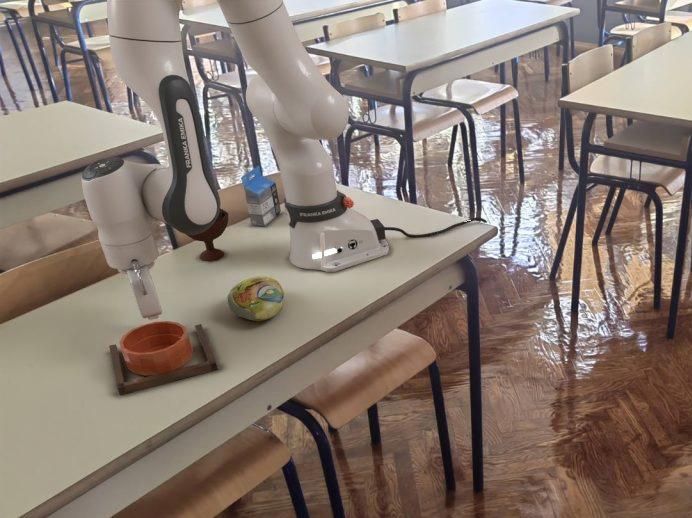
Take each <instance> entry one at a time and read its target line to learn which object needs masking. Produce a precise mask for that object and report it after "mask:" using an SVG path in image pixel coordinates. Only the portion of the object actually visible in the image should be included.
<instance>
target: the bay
mask: <svg viewBox="0 0 692 518" xmlns="http://www.w3.org/2000/svg"><path fill="white" fill-rule="evenodd" d="M194 327H195V331H196V334H197V337H198V340H199V342H200V345H201V348H202V350H203V352H204V355H205V358H206V361H203V362H199V363H195V364H191V365H187V366H183V367H181V368H179V369H175V370H171V371H168V372H164V373H160V374H156V375H152V376H143V377H140V378H137V379H133V380H129V381H125V376H124V371H123V370H124V369H123V365H122V361H121V356H120V352H119V348H118V346H117V344H112V345H109V346H108V347H109V353H110V358H111V363H112V369H113V374H114V378H115V379H114V380H115V383H116V384H115V385H116V389H117V392H118V394H119V396H123V395H126V394H130V393H134V392H138V391H141V390H145V389H150V388H153V387H157V386H161V385H165V384H169V383H172V382H176V381H180V380H184V379H187V378H191V377H195V376H198V375H203V374H206V373H207V374H208V373H211V372H214V371H218V370H219V367H218V366H219V365H218V363H217V360H216V358H215V355H214V352H213V350H212V347H211V345H210V343H209V340H208V338H207V335H206V332H205V329H204V327H203V325H202V323H200V324H195V325H194Z"/></svg>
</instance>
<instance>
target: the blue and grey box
mask: <svg viewBox="0 0 692 518" xmlns="http://www.w3.org/2000/svg"><path fill="white" fill-rule="evenodd" d="M251 176H253V177H252V178H251ZM240 179H241V183H242V185H243V189H244V196H245V201H246V205H247V209H248V210H247V211H248V214H249V220H250V225H251V226H255V227H266V226H268V225H269V223H271V222H273V220H275V219H276V218H277V217H278V216H280V215H281V214H282V210H281V205H280V198H279V194H278V193H279V192H278V189H277V184H276V181H273V180H272V179H270V178H268V177H265V176H264V175H263V174H262V173H261V168H260V165H257V166H256V167H254V168H253V169H251V170H249V171H248V172H247V173H245V174H243V175H242V176H241V177H240Z"/></svg>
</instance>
